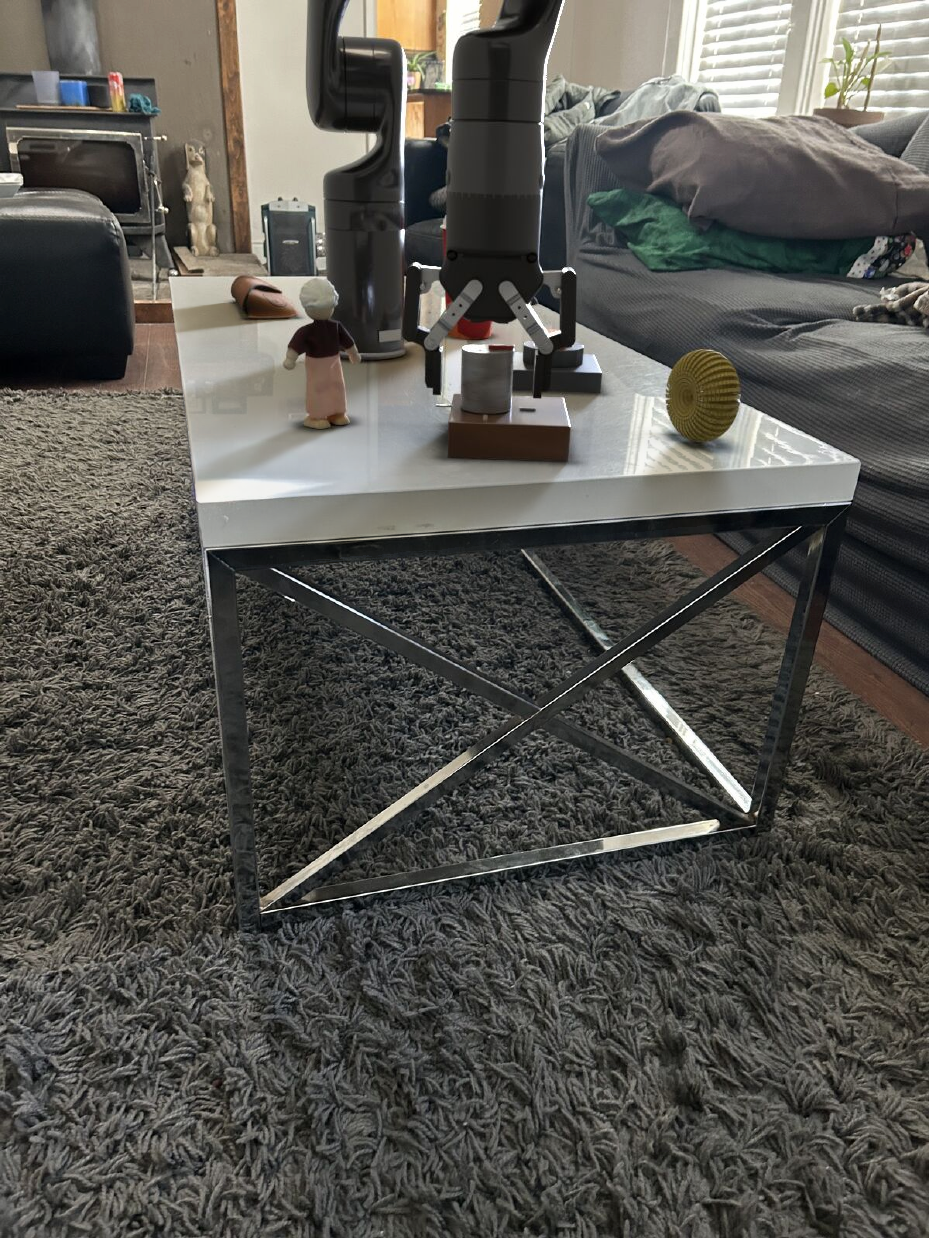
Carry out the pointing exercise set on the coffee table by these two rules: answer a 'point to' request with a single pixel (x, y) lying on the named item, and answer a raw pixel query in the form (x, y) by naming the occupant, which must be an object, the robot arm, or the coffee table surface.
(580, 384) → the button box
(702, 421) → the sculpture
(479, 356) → the lock knob
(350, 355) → the grandmother figurine
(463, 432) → the panel
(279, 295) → the sunglasses case
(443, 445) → the coffee table surface
